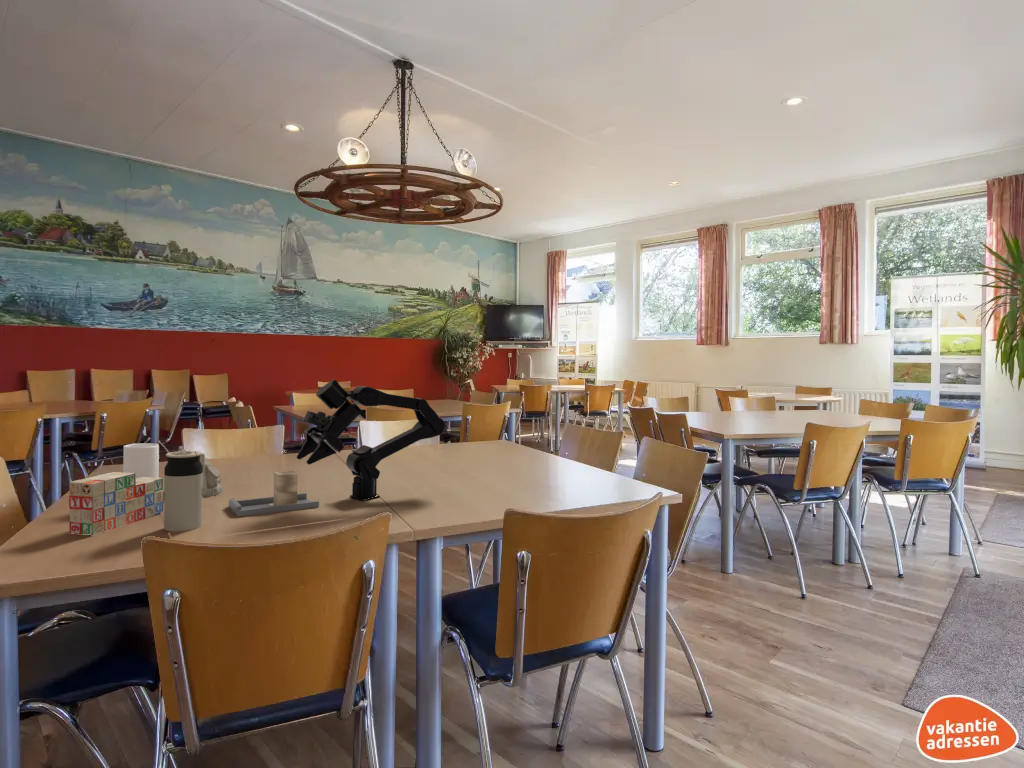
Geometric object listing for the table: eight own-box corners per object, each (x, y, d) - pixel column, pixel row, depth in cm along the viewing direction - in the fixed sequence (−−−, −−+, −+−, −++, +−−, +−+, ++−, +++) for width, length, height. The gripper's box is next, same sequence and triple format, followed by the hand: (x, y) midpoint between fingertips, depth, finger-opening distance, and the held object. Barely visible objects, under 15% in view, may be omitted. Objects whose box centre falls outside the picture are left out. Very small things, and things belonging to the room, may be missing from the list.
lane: (305, 499, 171) (305, 489, 171) (318, 508, 161) (319, 497, 161) (228, 508, 159) (228, 497, 159) (237, 518, 149) (238, 507, 149)
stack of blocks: (142, 511, 154) (142, 465, 153) (163, 513, 153) (164, 466, 152) (68, 535, 133) (68, 481, 132) (92, 537, 132) (92, 482, 131)
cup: (133, 499, 166) (134, 442, 166) (164, 499, 167) (164, 443, 166) (116, 506, 158) (116, 447, 157) (148, 506, 159) (149, 447, 158)
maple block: (292, 502, 165) (292, 470, 165) (297, 505, 161) (297, 473, 161) (273, 504, 163) (273, 472, 162) (278, 508, 159) (278, 475, 158)
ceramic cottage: (212, 497, 169) (212, 445, 170) (155, 499, 169) (155, 446, 170) (237, 489, 185) (237, 442, 185) (184, 490, 185) (184, 442, 185)
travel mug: (161, 534, 135) (162, 456, 134) (166, 525, 142) (167, 451, 141) (200, 531, 138) (201, 455, 137) (203, 522, 145) (204, 450, 145)
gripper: (311, 398, 174) (272, 438, 168) (333, 403, 159) (291, 446, 153) (337, 423, 179) (300, 462, 173) (360, 430, 164) (321, 473, 158)
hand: (302, 461), depth 164 cm, fingers open, 9 cm apart
